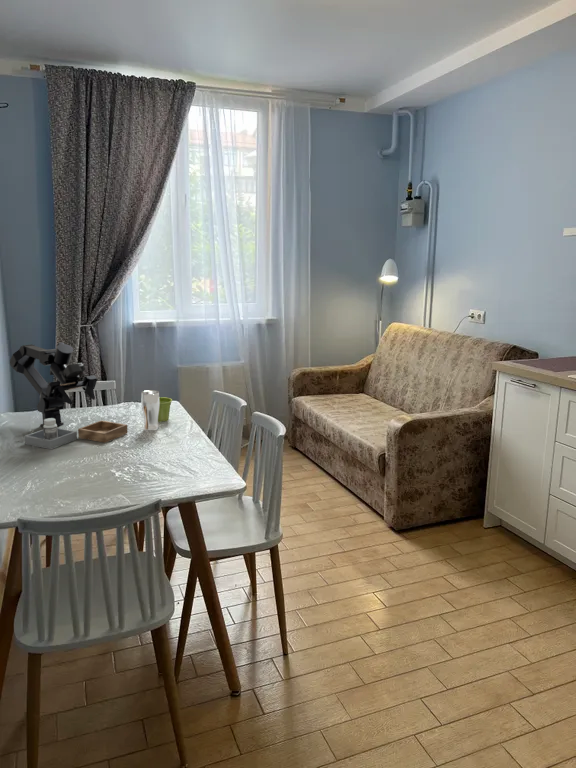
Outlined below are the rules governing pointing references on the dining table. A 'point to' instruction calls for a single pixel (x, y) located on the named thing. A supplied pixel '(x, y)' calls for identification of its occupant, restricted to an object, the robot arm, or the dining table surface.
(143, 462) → the dining table surface
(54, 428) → the pill bottle
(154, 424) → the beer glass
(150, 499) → the dining table surface
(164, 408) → the plant pot
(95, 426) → the walnut bin
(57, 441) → the bin
